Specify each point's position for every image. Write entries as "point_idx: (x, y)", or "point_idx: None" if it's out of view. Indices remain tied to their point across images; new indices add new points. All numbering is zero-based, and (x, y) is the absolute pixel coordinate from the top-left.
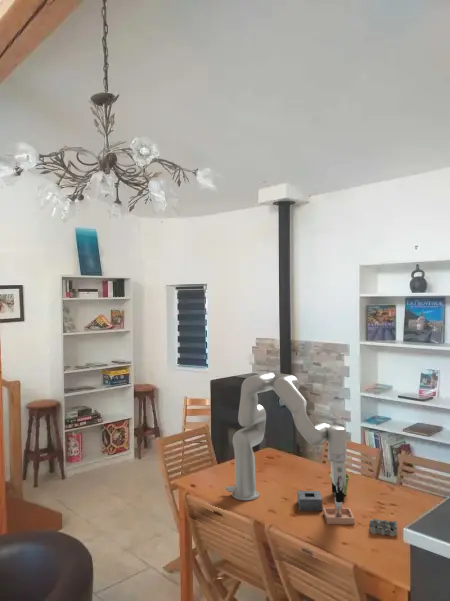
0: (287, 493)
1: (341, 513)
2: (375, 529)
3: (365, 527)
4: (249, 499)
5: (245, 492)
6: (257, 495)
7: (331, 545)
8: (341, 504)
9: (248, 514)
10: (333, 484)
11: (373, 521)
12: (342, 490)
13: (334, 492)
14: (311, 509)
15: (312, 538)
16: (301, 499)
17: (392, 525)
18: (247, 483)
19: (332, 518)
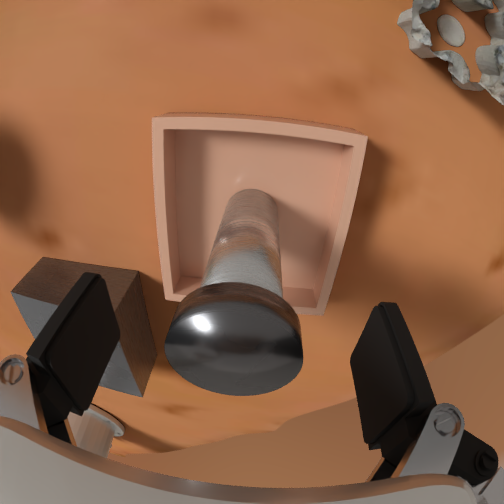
0: (27, 336)
1: (272, 214)
2: (496, 72)
3: (407, 78)
4: (118, 422)
5: (110, 437)
6: (91, 409)
7: (486, 307)
8: (274, 253)
9: (208, 440)
10: (82, 405)
11: (415, 16)
12: (486, 447)
13: (211, 385)
14: (146, 322)
15: (420, 354)
16: (140, 392)
17: None
18: (101, 455)
19: (331, 285)
